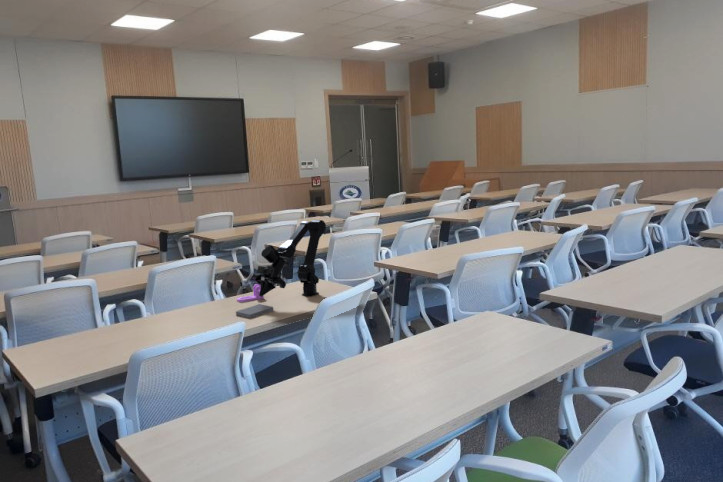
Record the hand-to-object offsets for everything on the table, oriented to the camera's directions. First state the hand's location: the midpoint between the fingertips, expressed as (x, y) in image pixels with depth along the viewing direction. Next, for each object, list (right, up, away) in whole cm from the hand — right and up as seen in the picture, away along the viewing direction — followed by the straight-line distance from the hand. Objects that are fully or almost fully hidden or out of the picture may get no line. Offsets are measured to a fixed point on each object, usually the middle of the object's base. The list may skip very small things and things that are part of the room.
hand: (260, 296), depth 266 cm
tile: (+2, -6, +3) cm, 7 cm away
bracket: (-9, -4, +23) cm, 25 cm away
